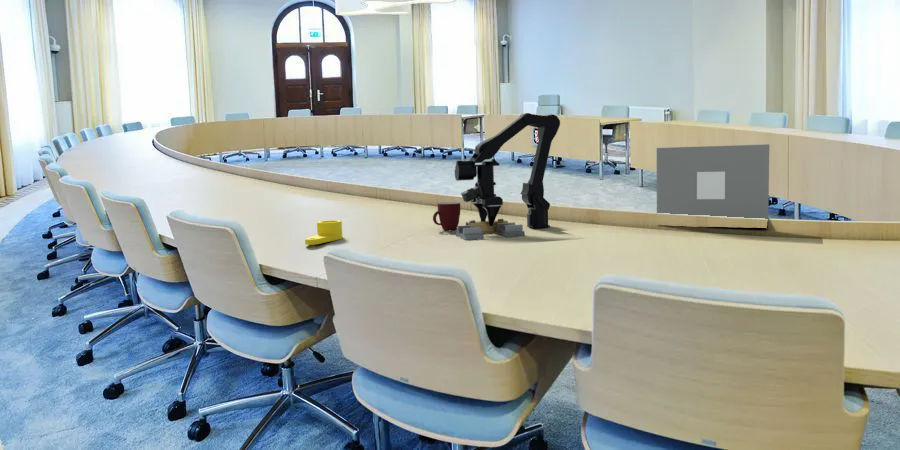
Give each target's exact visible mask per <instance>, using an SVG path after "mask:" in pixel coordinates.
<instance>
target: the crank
mask: <svg viewBox="0 0 900 450" xmlns="http://www.w3.org/2000/svg"><path fill="white" fill-rule="evenodd" d="M342 222H343V221H342V220H339V219H338V220H337V219H336V220H335V219H331V220H330V219H329V220H321V221H320V220H319V221H317V222H316V229H317V232H316V233H317V234H315V235H312V236H309V237H307V238H305V239H304V243H305V245H309V246H310V245H312V246H313V245H319V244H325V243H328V242H333V241H338V240H341V239H343V223H342Z"/></svg>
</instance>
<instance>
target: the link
mask: <svg viewBox="0 0 900 450" xmlns="http://www.w3.org/2000/svg"><path fill="white" fill-rule="evenodd" d="M497 223H509V221H508V220H506V219H504V218H497V219H495V221H494V223H493V226H489V222H488V220H486V221H481V220H479V221H476V220H475V219H474V220H469V221H465V225H476V227H482V234H490V233H491V234H492V233H493V234H494V233H495V234H496V229H497Z"/></svg>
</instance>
